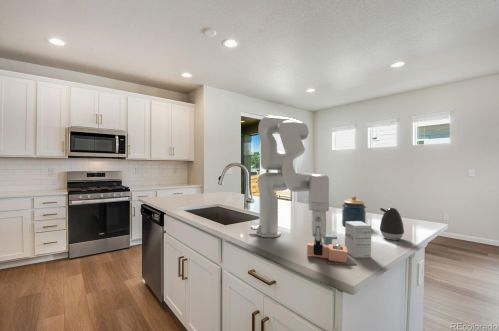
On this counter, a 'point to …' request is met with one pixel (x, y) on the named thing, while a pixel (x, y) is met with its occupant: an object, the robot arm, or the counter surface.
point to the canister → (353, 210)
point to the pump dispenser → (391, 224)
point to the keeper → (328, 238)
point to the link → (329, 252)
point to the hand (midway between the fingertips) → (318, 252)
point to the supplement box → (358, 239)
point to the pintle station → (349, 262)
